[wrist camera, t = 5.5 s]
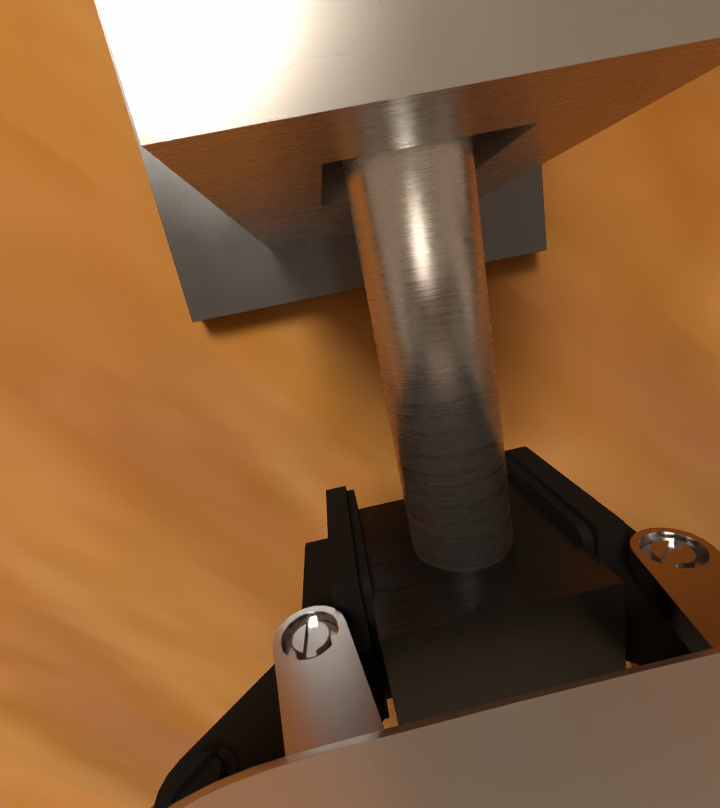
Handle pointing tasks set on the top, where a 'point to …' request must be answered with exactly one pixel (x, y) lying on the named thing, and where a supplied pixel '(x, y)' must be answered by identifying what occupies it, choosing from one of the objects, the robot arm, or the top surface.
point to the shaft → (460, 466)
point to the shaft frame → (370, 116)
